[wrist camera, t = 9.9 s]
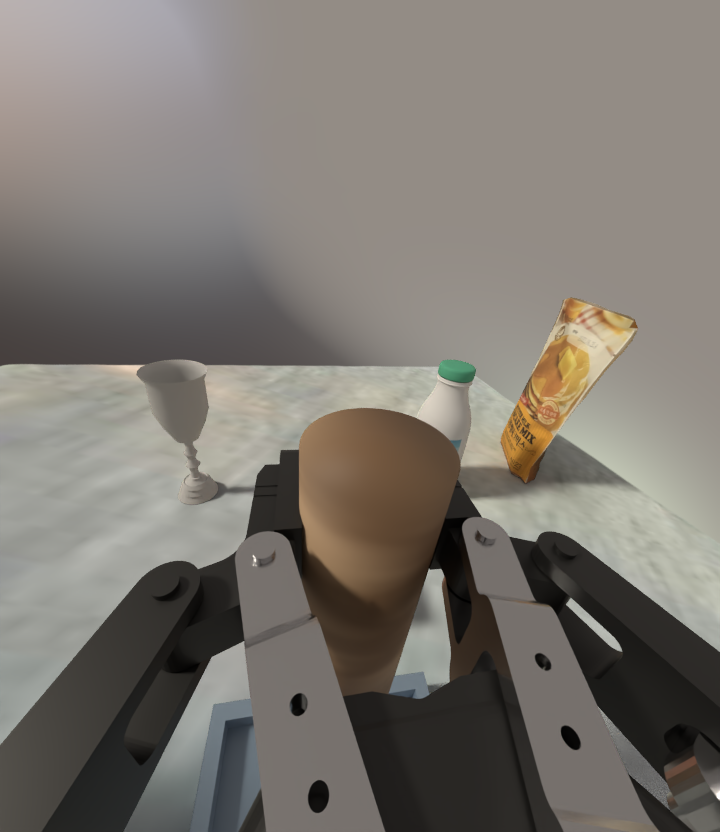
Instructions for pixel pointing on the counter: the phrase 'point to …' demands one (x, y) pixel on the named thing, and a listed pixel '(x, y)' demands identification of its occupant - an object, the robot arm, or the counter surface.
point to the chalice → (181, 416)
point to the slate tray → (247, 761)
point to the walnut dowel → (370, 533)
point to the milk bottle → (450, 403)
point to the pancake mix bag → (563, 379)
